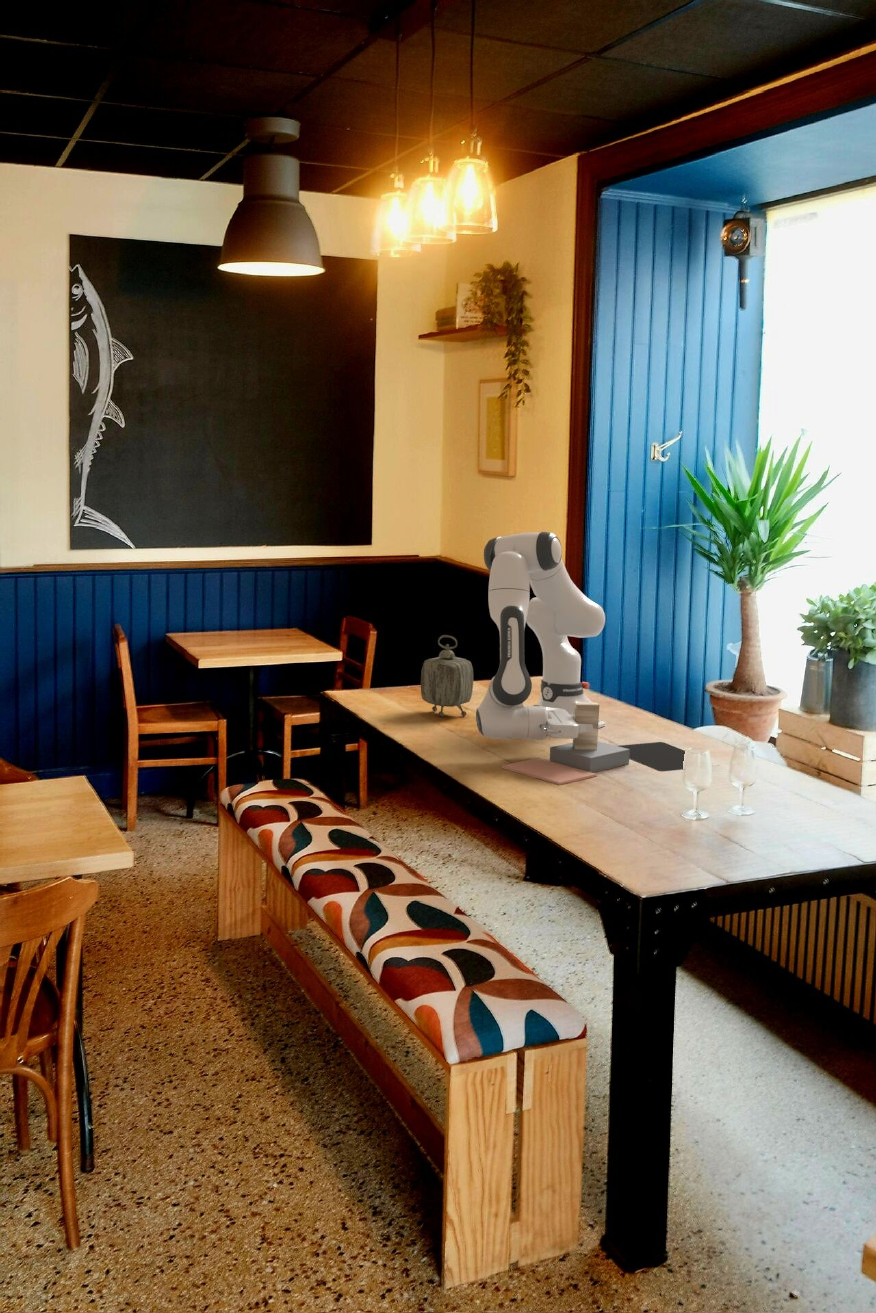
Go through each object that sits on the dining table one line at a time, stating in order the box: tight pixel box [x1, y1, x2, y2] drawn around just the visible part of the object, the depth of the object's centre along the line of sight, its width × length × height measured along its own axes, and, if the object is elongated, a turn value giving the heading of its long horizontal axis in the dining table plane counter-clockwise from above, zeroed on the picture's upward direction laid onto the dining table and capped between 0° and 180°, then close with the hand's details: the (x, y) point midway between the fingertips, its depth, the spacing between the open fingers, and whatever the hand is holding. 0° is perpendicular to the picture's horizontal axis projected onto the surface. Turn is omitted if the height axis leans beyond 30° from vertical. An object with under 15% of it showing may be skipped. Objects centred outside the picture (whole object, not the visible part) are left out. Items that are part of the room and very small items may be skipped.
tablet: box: [618, 741, 686, 772], centre depth 336 cm, size 27×1×20 cm
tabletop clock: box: [420, 634, 474, 717], centre depth 376 cm, size 14×9×25 cm, turn 58°
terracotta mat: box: [501, 757, 598, 786], centre depth 316 cm, size 14×20×1 cm
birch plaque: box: [572, 702, 600, 750], centre depth 325 cm, size 3×6×12 cm, turn 94°
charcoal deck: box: [549, 740, 630, 773], centre depth 326 cm, size 16×14×4 cm
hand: (589, 723), depth 325 cm, fingers open, 7 cm apart
